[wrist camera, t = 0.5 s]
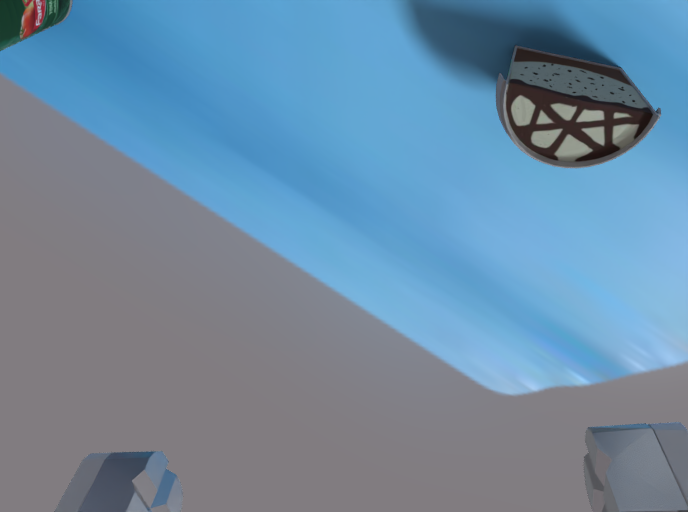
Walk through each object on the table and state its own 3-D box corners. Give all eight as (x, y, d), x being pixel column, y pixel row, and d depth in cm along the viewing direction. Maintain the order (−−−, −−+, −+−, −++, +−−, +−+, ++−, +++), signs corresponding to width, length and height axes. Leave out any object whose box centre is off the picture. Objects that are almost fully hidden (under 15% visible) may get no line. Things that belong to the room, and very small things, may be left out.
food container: (477, 106, 53) (475, 155, 46) (498, 41, 49) (499, 82, 42) (607, 135, 52) (628, 190, 45) (638, 71, 49) (667, 119, 41)
